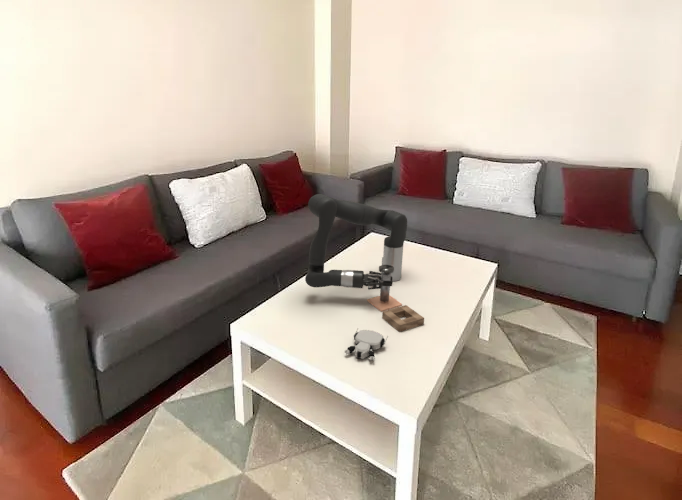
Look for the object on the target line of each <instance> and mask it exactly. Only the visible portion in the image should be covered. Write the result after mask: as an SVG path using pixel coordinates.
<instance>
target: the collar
mask: <svg viewBox="0 0 682 500" xmlns="http://www.w3.org/2000/svg"><path fill="white" fill-rule="evenodd" d="M381 313H382V314H381V315H382V316H381V317H382V320H384V321H385V322H386V323H388V324H389V325H390V326H391V327H393V328H394V329H395V330H397V332H399V333H402V332H404V331H407V330H410V329H414V328H417V327H420V326H423V325H424V324H425V317H424V316H423V315H421V314H419V313H418V312H417V311H415V309H412V308H411V307H409V306H408V305H406V304H405V305H402V306H400V307H396V308H393V309H389V310H386V311H382V312H381Z"/></svg>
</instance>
